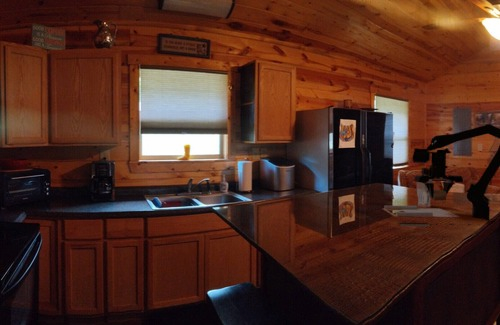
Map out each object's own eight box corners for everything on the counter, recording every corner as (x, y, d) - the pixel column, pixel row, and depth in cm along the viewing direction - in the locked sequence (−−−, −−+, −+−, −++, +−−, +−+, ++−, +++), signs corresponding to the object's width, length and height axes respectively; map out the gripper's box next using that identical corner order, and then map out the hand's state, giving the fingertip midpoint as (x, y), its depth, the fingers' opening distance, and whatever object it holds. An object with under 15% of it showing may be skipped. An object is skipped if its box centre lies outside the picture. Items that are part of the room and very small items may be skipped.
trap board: (460, 220, 138) (460, 213, 138) (394, 219, 140) (394, 212, 140) (439, 211, 155) (440, 205, 155) (382, 211, 157) (382, 205, 157)
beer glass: (428, 207, 166) (428, 178, 165) (434, 210, 159) (435, 179, 158) (414, 207, 167) (414, 178, 166) (419, 209, 160) (420, 179, 159)
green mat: (429, 226, 129) (429, 224, 128) (400, 226, 129) (400, 224, 129) (417, 219, 139) (417, 218, 139) (391, 219, 140) (391, 217, 140)
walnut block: (446, 200, 144) (446, 191, 144) (434, 200, 145) (434, 191, 144) (440, 198, 149) (440, 189, 149) (429, 198, 149) (429, 189, 149)
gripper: (450, 162, 153) (449, 194, 154) (409, 162, 154) (409, 194, 155) (464, 163, 142) (463, 199, 143) (420, 164, 143) (419, 198, 144)
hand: (437, 197), depth 147 cm, fingers closed on walnut block, 5 cm apart
